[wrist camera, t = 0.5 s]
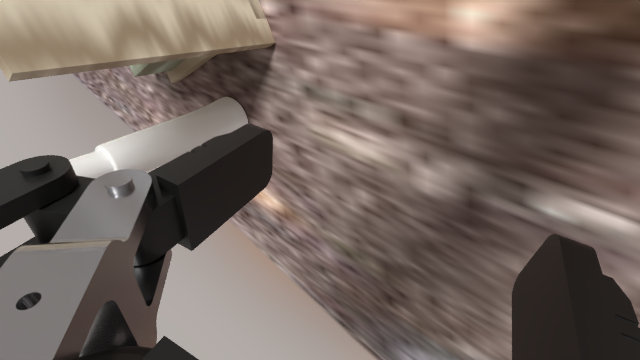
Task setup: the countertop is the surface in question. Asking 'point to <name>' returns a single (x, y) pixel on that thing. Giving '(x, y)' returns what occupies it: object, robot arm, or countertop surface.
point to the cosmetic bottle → (162, 140)
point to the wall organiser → (125, 35)
